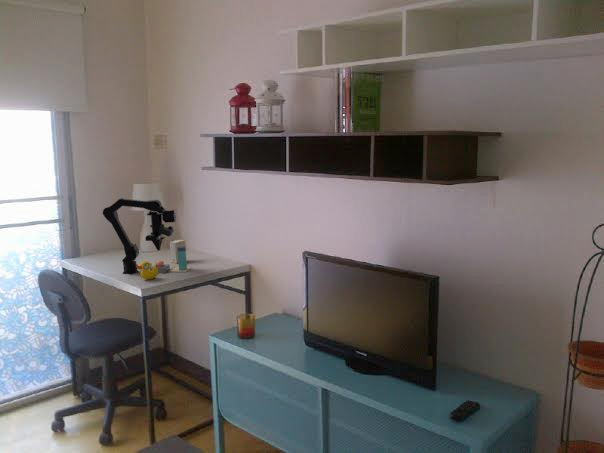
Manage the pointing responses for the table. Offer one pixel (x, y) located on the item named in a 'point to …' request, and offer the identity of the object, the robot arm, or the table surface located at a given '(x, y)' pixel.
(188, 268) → the sketchbook
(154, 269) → the duckling
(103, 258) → the table surface
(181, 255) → the teal cylinder
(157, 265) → the button
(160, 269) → the button housing
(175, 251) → the supplement box
